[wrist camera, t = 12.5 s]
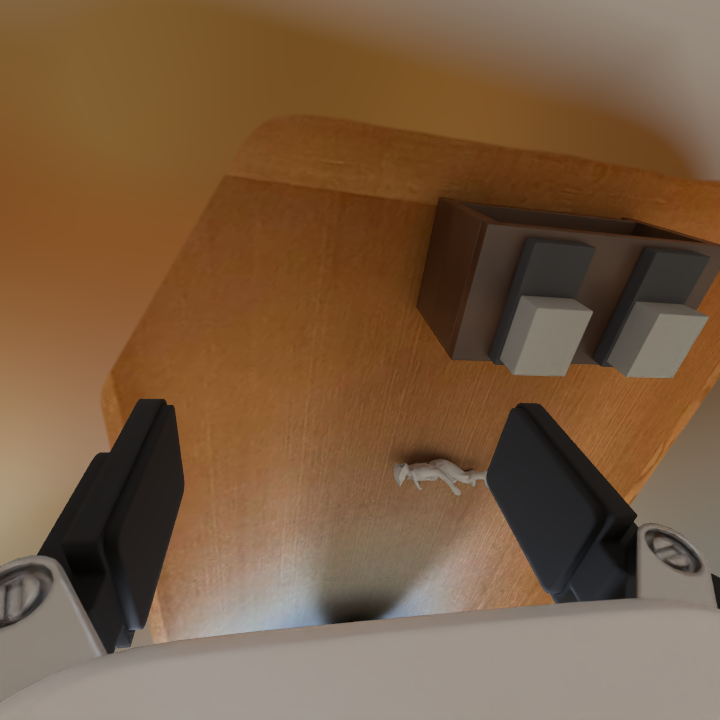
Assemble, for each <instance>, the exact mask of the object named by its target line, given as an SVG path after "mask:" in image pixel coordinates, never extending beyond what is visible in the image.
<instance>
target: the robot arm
mask: <svg viewBox="0 0 720 720" xmlns="http://www.w3.org/2000/svg"><path fill="white" fill-rule="evenodd" d="M486 481H487V485H488V487H489V489H490V491H491V492H492V494H493V496H494V498H495V500H496V502H497V504H498V506H499V507H500V509H501V511H502V513H503V515H504V517H505V519H506V520H507V522H508V524H509V526H510V528H511V530H512V532H513V534H514V535H515V537H516V539H517V541H518V543H519V545H520V547H521V548H522V550H523V552H524V554H525V556H526V558H527V560H528V562H529V563H530V565H531V567H532V569H533V571H534V573H535V575H536V576H537V578H538V580H539V582H540V584H541V586H542V587H543V589H544V590H545V591H546V592H547V593H548V594H551V596H552V598H553V600H554V602H555V604H547V605H536V606H524V607H512V608H501V609H489V610H478V611H467V612H456V613H445V614H434V615H423V616H412V617H402V618H391V619H380V620H369V621H359V622H348V623H338V624H328V625H318V626H307V627H297V628H287V629H277V630H266V631H256V632H247V633H239V634H230V635H221V636H213V637H204V638H195V639H187V640H178V641H172V642H166V643H160V644H154V645H147V646H141V647H136V648H132V649H128V650H123V651H120V652H115V653H114V651H115V648H124V647H130V646H131V643H132V639H133V636H134V633H135V630H138V629H143V628H144V626H145V624H146V621H147V618H148V615H149V611H150V608H151V604H152V601H153V597H154V594H155V590H156V587H157V583H158V580H159V576H160V573H161V569H162V566H163V562H164V559H165V556H166V552H167V549H168V545H169V542H170V538H171V535H172V531H173V528H174V524H175V521H176V517H177V514H178V510H179V507H180V503H181V500H182V496H183V492H184V474H183V467H182V460H181V452H180V445H179V437H178V430H177V422H176V415H175V408H174V406H173V405H167V403H166V400H164V399H140V400H139V401H138V402H137V404H136V405H135V407H134V409H133V411H132V413H131V415H130V416H129V418H128V420H127V422H126V424H125V426H124V427H123V429H122V431H121V433H120V435H119V437H118V439H117V440H116V442H115V444H114V446H113V448H112V450H111V451H110V453H99V454H97V455H96V456H95V457H94V458H93V460H92V461H91V463H90V465H89V467H88V468H87V470H86V472H85V473H84V475H83V477H82V479H81V480H80V482H79V484H78V486H77V487H76V489H75V491H74V493H73V494H72V496H71V498H70V499H69V501H68V503H67V504H66V506H65V508H64V510H63V511H62V513H61V515H60V516H59V518H58V520H57V521H56V523H55V525H54V527H53V528H52V530H51V532H50V533H49V535H48V537H47V539H46V540H45V542H44V544H43V546H42V547H41V549H40V551H39V552H38V554H37V556H28V557H23V558H18V559H16V560H13V561H11V562H8V563H6V564H3V565H1V566H0V720H720V578H719V577H717V576H715V575H713V574H711V571H710V567H709V564H708V562H707V559H706V557H705V556H704V555H703V553H702V552H701V551H700V549H698V547H697V546H695V544H693V543H692V542H691V541H690V540H689V539H687V538H686V537H685V536H683V535H682V534H680V533H679V532H677V531H675V530H673V529H671V528H668V527H666V526H663V525H660V524H655V523H647V524H643V525H641V526H640V527H639V528H638V527H637V525H636V524H635V523H634V520H635V519H636V517H637V514H636V513H635V512H634V511H633V510H632V509H631V508H630V506H629V505H628V504H627V503H626V502H625V500H624V499H623V498H622V497H621V496H620V495H619V494H618V492H617V491H616V490H615V489H614V488H613V487H612V486H611V484H610V483H609V482H608V481H607V480H606V479H605V478H604V476H603V475H602V474H601V473H600V472H599V471H598V470H597V468H596V467H595V466H594V465H593V464H592V463H591V462H590V460H589V459H588V458H587V457H586V456H585V455H584V454H583V452H582V451H581V450H580V449H579V448H578V447H577V445H576V444H575V443H574V442H573V441H572V440H571V439H570V437H569V436H568V435H567V434H566V433H565V432H564V431H563V429H562V428H561V427H560V426H559V425H558V424H557V423H556V421H555V420H554V419H553V418H552V417H551V416H550V415H549V413H548V412H547V411H546V410H545V409H544V408H543V407H542V406H541V405H540V404H537V403H520V404H518V405H517V406H516V407H515V408H513V409H512V410H511V411H510V413H509V416H508V418H507V421H506V424H505V426H504V429H503V432H502V434H501V437H500V439H499V442H498V445H497V447H496V450H495V453H494V455H493V458H492V460H491V463H490V466H489V468H488V471H487V474H486Z"/></svg>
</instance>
